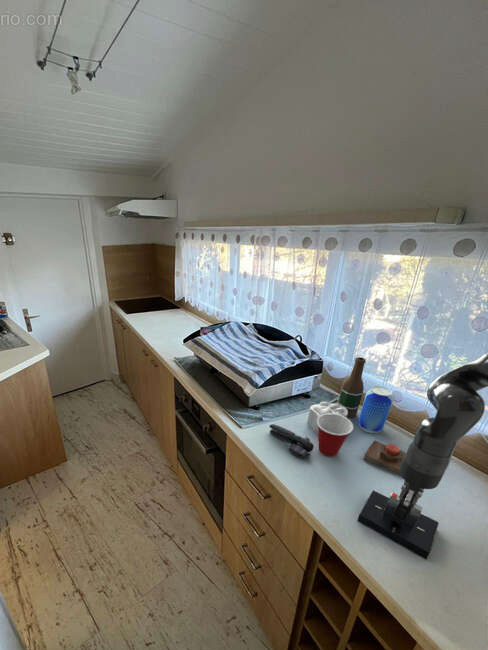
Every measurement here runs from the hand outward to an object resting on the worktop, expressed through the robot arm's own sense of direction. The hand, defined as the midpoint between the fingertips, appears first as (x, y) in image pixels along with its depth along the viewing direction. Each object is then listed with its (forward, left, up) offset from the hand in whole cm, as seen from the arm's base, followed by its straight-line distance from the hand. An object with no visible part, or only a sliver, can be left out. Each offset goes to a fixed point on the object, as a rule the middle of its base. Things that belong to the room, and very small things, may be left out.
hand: (400, 514), depth 76 cm
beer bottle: (+28, -44, -4) cm, 52 cm away
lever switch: (0, 0, -4) cm, 4 cm away
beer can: (+18, -40, -4) cm, 44 cm away
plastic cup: (+24, -16, -4) cm, 29 cm away
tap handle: (0, 0, -1) cm, 1 cm away
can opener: (+35, -11, -4) cm, 37 cm away
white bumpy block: (+30, -30, -4) cm, 43 cm away
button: (+8, -25, 0) cm, 26 cm away
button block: (+8, -25, -4) cm, 27 cm away
